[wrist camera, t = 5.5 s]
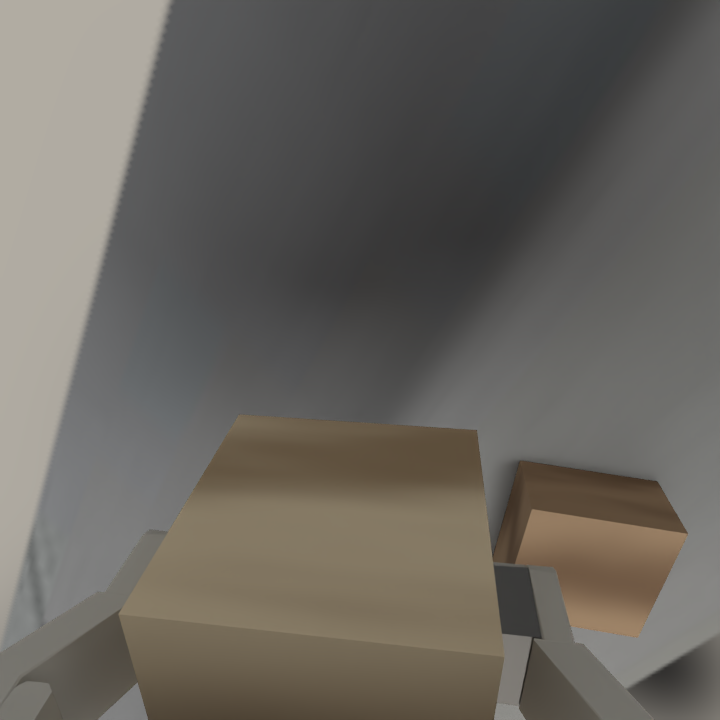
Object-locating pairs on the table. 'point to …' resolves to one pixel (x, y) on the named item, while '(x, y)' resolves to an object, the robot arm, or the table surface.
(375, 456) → the beech block
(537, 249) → the table surface
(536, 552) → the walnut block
